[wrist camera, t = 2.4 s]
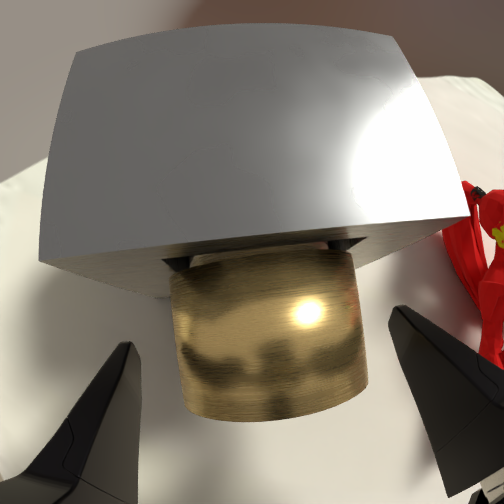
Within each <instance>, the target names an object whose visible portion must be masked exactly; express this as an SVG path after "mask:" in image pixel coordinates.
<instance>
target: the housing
mask: <svg viewBox="0 0 504 504" xmlns="http://www.w3.org/2000/svg"><path fill="white" fill-rule="evenodd" d="M469 216H470V212H469V208H468V205H467V201H466V198H465V194H464V191H463V188H462V185H461V181H460V178H459V175H458V172H457V170H456V167H455V164H454V161H453V158H452V156H451V153H450V150H449V148H448V145H447V143H446V140H445V138H444V135H443V133H442V130H441V128H440V126H439V123H438V121H437V119H436V116H435V114H434V112H433V110H432V108H431V106H430V103H429V101H428V99H427V97H426V95H425V93H424V91H423V89H422V87H421V85H420V83H419V81H418V80H417V78H416V76H415V74H414V72H413V70H412V68H411V67H410V65H409V63H408V62H407V60H406V58H405V56H404V54H403V53H402V51H401V49H400V48H399V46H398V45H397V43H396V41H395V40H394V39H393V37H392V36H387V35H382V34H377V33H371V32H365V31H359V30H352V29H344V28H337V27H328V26H327V27H326V26H316V25H304V24H281V23H251V24H250V23H247V24H225V25H211V26H201V27H192V28H183V29H176V30H169V31H163V32H157V33H151V34H146V35H141V36H136V37H131V38H127V39H123V40H119V41H114V42H111V43H107V44H103V45H99V46H96V47H92V48H89V49H85V50H82V51H79V52H76V55H75V57H74V60H73V63H72V66H71V69H70V72H69V75H68V78H67V82H66V85H65V88H64V92H63V95H62V99H61V103H60V107H59V110H58V114H57V118H56V123H55V127H54V132H53V136H52V141H51V146H50V151H49V157H48V163H47V169H46V175H45V183H44V190H43V199H42V209H41V220H40V235H39V261H40V262H43V263H46V264H48V265H51V266H54V267H57V268H60V269H63V270H66V271H69V272H72V273H75V274H78V275H81V276H84V277H87V278H90V279H93V280H96V281H99V282H103V283H106V284H109V285H112V286H116V287H119V288H122V289H126V290H129V291H132V292H136V293H139V294H143V295H146V296H150V297H153V298H163V297H170V287H169V277H170V276H171V275H173V274H174V273H177V272H179V271H181V270H184V269H187V268H190V266H189V256H193V255H202V254H211V253H220V252H229V251H239V250H248V249H257V248H266V247H275V246H284V245H294V244H303V243H312V242H321V241H327V242H328V248H329V249H331V250H342V251H347V252H349V253H351V254H352V258H353V264H354V269H357V268H359V267H362V266H364V265H366V264H369V263H371V262H373V261H375V260H378V259H380V258H382V257H384V256H387V255H389V254H391V253H393V252H396V251H398V250H400V249H402V248H404V247H406V246H409V245H411V244H413V243H415V242H417V241H419V240H422V239H424V238H426V237H428V236H430V235H432V234H434V233H436V232H438V231H440V230H442V229H445V228H447V227H449V226H451V225H453V224H455V223H457V222H459V221H461V220H463V219H465V218H467V217H469Z"/></svg>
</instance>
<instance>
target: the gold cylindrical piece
mask: <svg viewBox="0 0 504 504" xmlns="http://www.w3.org/2000/svg"><path fill="white" fill-rule="evenodd" d="M189 266H190V268H187V269H184V270H181V271H179V272H177V273H174V274H173V275H171V276H170V277H169V287H170V298H171V308H172V317H173V326H174V335H175V343H176V351H177V358H178V365H179V372H180V379H181V385H182V392H183V398H184V404H185V407H186V408H187V410H189V411H190V412H192V413H194V414H196V415H199V416H202V417H205V418H210V419H215V420H221V421H231V422H263V421H274V420H282V419H289V418H295V417H300V416H304V415H309V414H313V413H316V412H320V411H323V410H326V409H329V408H332V407H334V406H337V405H339V404H341V403H344V402H346V401H348V400H350V399H351V398H353V397H355V396H357V395H358V394H359V393H361V392H362V391H363V390H364V389H365V388H366V386H367V385H368V371H367V360H366V350H365V341H364V332H363V324H362V316H361V309H360V302H359V295H358V288H357V282H356V275H355V269H354V264H353V258H352V254H351V253H349V252H347V251H342V250H331V249H329V248H328V242H327V241H321V242H312V243H303V244H294V245H284V246H275V247H266V248H257V249H248V250H239V251H229V252H220V253H211V254H202V255H193V256H189Z"/></svg>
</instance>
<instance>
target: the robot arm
mask: <svg viewBox="0 0 504 504" xmlns="http://www.w3.org/2000/svg"><path fill="white" fill-rule="evenodd" d="M388 328H389V331H390V334H391V337H392V340H393V343H394V347H395V350H396V353H397V356H398V359H399V362H400V365H401V368H402V370H403V372H404V375H405V377H406V380H407V382H408V384H409V387H410V389H411V392H412V394H413V397H414V399H415V402H416V405H417V407H418V410H419V412H420V415H421V418H422V420H423V423H424V426H425V429H426V431H427V434H428V437H429V440H430V443H431V446H432V449H433V452H434V454H435V458H436V461H437V464H438V467H439V470H440V474H441V477H442V480H443V483H444V487H445V490H446V494H447V496H448V498H450V497H452V496H454V495H456V494H458V493H460V492H462V491H464V490H466V489H468V488H470V487H471V486H473V485H475V484H477V483H479V482H480V484H481V487H482V488H481V489H479V490H478V491H476V492H474V493H473V494H472V495H471V498H470V501H469V503H468V504H504V370H503V369H501V368H500V367H498V366H496V365H495V364H493V363H492V362H490V361H489V360H487V359H486V358H484V357H483V356H481V355H480V354H478V353H476V352H475V351H474V350H472V349H471V348H469V347H468V346H467V345H465V344H464V343H462V342H461V341H459V340H458V339H456V338H455V337H453V336H452V335H450V334H449V333H447V332H446V331H444V330H443V329H441V328H440V327H438V326H437V325H435V324H434V323H432V322H431V321H429V320H428V319H426V318H425V317H423V316H422V315H420V314H419V313H417V312H416V311H414V310H412V309H411V308H409V307H408V306H406V305H398V306H395V307H394V308H393V310H392V313H391V316H390V319H389V322H388ZM141 404H142V396H141V360H140V356H139V354H138V352H137V350H136V348H135V346H134V344H133V343H132V342H130V341H129V342H120V343H119V344H118V346H117V347H116V348H115V350H114V351H113V352H112V354H111V355H110V357H109V358H108V359H107V361H106V362H105V363H104V365H103V366H102V367H101V369H100V370H99V372H98V373H97V374H96V376H95V377H94V379H93V380H92V381H91V383H90V384H89V386H88V387H87V388H86V390H85V391H84V393H83V394H82V395H81V397H80V398H79V400H78V401H77V403H76V404H75V406H74V407H73V408H72V410H71V411H70V413H69V414H68V416H67V417H68V418H66V419H65V420H64V421H63V423H62V424H61V426H60V427H59V429H58V430H57V431H56V433H55V434H54V436H53V437H52V438H51V439H50V441H49V442H48V443H47V444H46V446H45V447H44V448H43V449H42V451H41V452H40V453H39V454H38V455H37V457H36V458H35V459H34V460H33V461H32V463H31V464H30V465H29V466H28V467H27V468H26V470H24V471H23V472H22V473H21V474H19V475H17V476H16V477H13V478H10V479H8V480H5V481H2V482H0V504H138V458H139V435H140V419H141Z"/></svg>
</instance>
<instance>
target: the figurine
mask: <svg viewBox="0 0 504 504" xmlns="http://www.w3.org/2000/svg"><path fill="white" fill-rule="evenodd" d="M461 185H462V188H463V191H464V194H465V198H466V201H467V205H468V208H469V212H470V216H469V217H467V218H465V219H463V220H461V221H459V222H457V223H455V224H453V225H451V226H449V227H447V228H445V229H442V236H443V240H444V243H445V246H446V249H447V252H448V254H449V257H450V259H451V261H452V263H453V266H454V268H455V270H456V273H457V275H458V277H459V278H460V280H461V281H462V283H463V285H464V286H465V288H466V289H467V291H468V293H469V294H470V296H471V298H472V299H473V301H474V303H475V304H476V306H477V308H478V309H479V310H480V311H481V316H482V320H483V326H482V336H481V342H480V348H479V353H478V354H480V355H481V356H483V357H484V358H486V359H487V360H489V361H490V362H492V363H493V364H495V365H496V366H498V367H500V368H501V369H503V370H504V350H503V351H502V350H501V349H502V347H503V343H504V341H503V338H502V331H503V322H504V190H492V191H490V192H489V193H487V194H486V193H485V192H484V191H483V190H482V189H481V188H479V187H478V186H477V187H474V186H473V185H471V184H470V183H468V182H467V181H462V182H461ZM478 188H479V189H478ZM482 191H483V192H482ZM476 204H478V205H479V218H478V211H477V205H476ZM479 222H480V224H481V226H482V227H483V229H484V230H485V231H486V233H487V234H488V235H489V237H491V238H492V239H495V240H496V248H495V256H494V260H493V261H492V263H491V265H490V266H489V268H488V267H487V262H486V258H485V254H484V248H483V241H482V235H481V229H480V224H479Z"/></svg>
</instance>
